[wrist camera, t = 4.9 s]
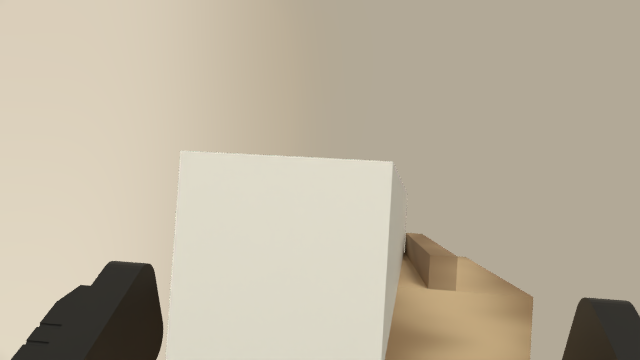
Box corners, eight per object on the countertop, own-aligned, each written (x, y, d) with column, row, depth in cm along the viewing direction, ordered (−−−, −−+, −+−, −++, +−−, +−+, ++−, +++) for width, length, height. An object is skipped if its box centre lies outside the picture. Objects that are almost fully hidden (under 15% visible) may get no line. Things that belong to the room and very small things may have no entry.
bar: (404, 250, 30) (407, 194, 30) (380, 388, 7) (392, 162, 8) (348, 245, 31) (351, 190, 31) (165, 363, 8) (180, 150, 8)
